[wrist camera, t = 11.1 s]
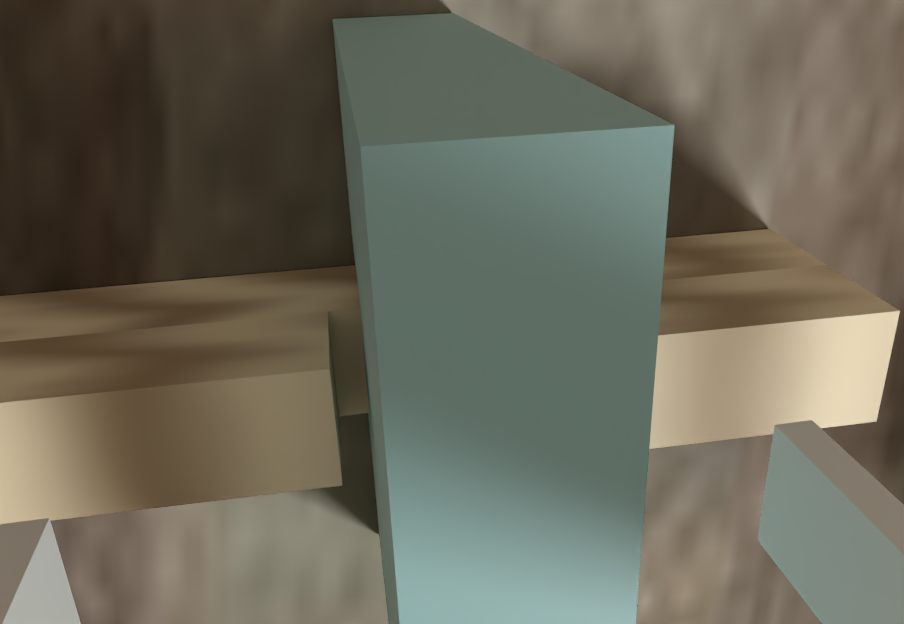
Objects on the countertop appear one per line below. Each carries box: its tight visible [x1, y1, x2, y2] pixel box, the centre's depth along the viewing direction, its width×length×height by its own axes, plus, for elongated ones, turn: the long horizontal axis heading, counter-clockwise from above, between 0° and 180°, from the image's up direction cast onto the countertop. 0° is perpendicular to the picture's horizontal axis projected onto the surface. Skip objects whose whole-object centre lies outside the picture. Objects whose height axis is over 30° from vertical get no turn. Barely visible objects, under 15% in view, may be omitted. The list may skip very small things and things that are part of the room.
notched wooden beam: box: [0, 229, 900, 525], centre depth 21 cm, size 22×3×6 cm, turn 92°
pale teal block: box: [332, 13, 675, 624], centre depth 17 cm, size 16×3×14 cm, turn 2°
